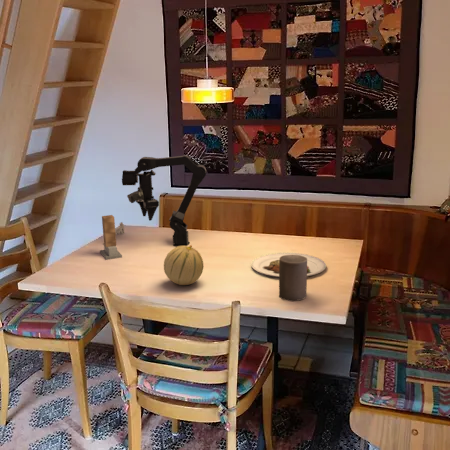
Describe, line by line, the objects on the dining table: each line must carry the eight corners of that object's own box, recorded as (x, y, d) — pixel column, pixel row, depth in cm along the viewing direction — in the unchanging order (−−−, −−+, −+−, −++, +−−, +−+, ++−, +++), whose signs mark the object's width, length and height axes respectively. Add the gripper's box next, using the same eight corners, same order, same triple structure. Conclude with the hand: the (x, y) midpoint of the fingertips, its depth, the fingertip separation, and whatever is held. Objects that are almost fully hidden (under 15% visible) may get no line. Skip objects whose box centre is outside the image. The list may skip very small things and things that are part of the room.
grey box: (100, 252, 244) (99, 242, 243) (115, 250, 247) (114, 240, 246) (106, 259, 234) (105, 249, 233) (122, 257, 237) (121, 247, 235)
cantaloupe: (160, 280, 208) (158, 242, 204) (196, 274, 213) (195, 238, 209) (171, 293, 194) (169, 253, 191) (209, 287, 200) (208, 248, 196)
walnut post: (113, 243, 242) (111, 214, 239) (116, 245, 238) (114, 217, 235) (104, 244, 240) (101, 216, 237) (106, 247, 236) (104, 218, 233)
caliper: (122, 233, 276) (121, 221, 274) (124, 233, 276) (123, 221, 274) (102, 245, 257) (101, 232, 255) (104, 245, 256) (103, 232, 255)
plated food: (267, 253, 239) (267, 246, 238) (334, 262, 226) (334, 254, 225) (239, 274, 213) (239, 266, 212) (313, 285, 200) (313, 277, 199)
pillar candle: (275, 299, 187) (275, 257, 184) (283, 289, 196) (283, 249, 193) (303, 302, 184) (304, 260, 180) (309, 292, 193) (310, 252, 189)
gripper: (122, 183, 252) (124, 216, 256) (134, 190, 235) (136, 224, 239) (146, 181, 256) (147, 213, 260) (158, 187, 240) (160, 221, 244)
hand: (147, 218), depth 251 cm, fingers open, 9 cm apart
